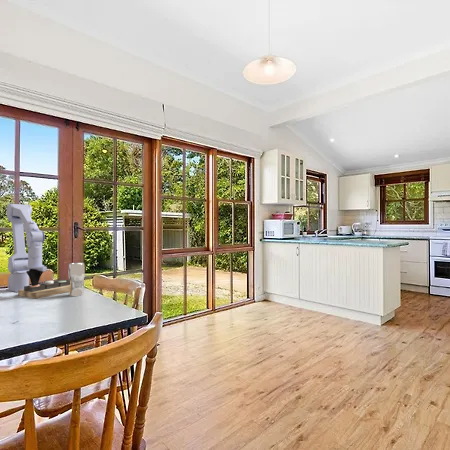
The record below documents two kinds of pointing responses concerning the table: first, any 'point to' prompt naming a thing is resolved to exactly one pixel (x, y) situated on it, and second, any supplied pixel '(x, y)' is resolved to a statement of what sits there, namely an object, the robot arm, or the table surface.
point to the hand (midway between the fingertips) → (34, 285)
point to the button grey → (48, 282)
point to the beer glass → (76, 278)
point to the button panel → (45, 289)
